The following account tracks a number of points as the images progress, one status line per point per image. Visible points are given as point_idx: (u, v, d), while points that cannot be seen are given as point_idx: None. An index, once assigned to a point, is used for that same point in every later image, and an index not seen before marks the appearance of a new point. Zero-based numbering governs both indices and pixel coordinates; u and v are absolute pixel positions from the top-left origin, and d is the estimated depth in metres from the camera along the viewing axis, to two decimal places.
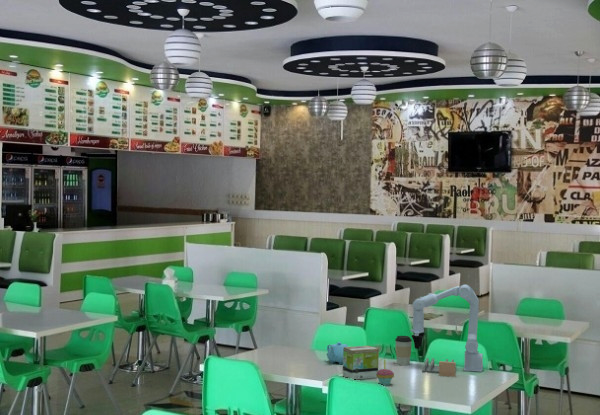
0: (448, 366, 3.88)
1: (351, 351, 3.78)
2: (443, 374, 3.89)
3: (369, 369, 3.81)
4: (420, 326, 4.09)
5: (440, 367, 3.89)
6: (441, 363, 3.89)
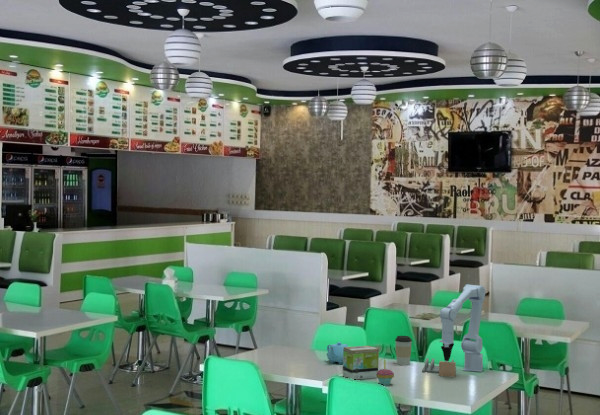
0: (448, 366, 3.88)
1: (351, 351, 3.78)
2: (443, 374, 3.89)
3: (369, 369, 3.81)
4: (450, 337, 3.87)
5: (440, 367, 3.89)
6: (441, 363, 3.89)
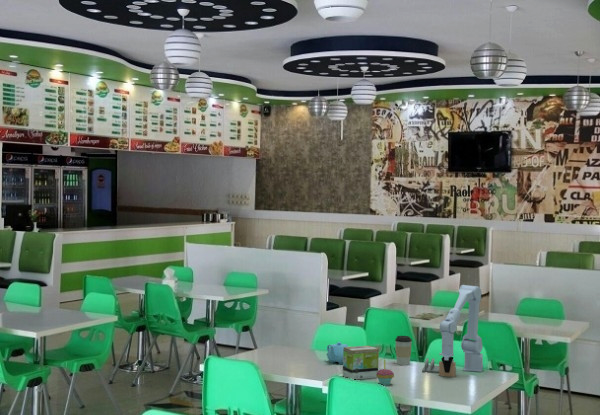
0: None
1: (351, 351, 3.78)
2: (443, 374, 3.89)
3: (369, 369, 3.81)
4: (450, 350, 3.87)
5: (440, 367, 3.89)
6: (441, 363, 3.89)
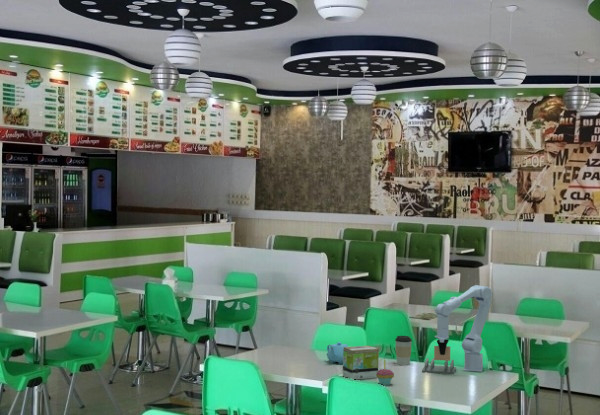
0: None
1: (351, 351, 3.78)
2: (438, 358, 3.96)
3: (369, 369, 3.81)
4: (445, 333, 3.94)
5: (435, 351, 3.97)
6: (436, 347, 3.97)
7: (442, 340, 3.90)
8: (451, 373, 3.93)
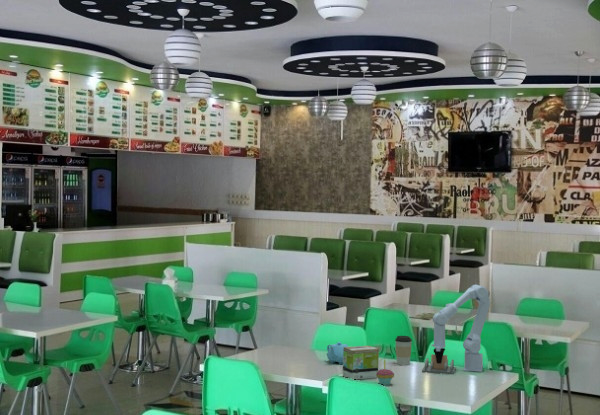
0: None
1: (351, 351, 3.78)
2: (435, 367, 4.01)
3: (369, 369, 3.81)
4: (442, 342, 3.99)
5: (432, 360, 4.02)
6: (433, 356, 4.02)
7: (438, 349, 3.95)
8: (451, 373, 3.93)
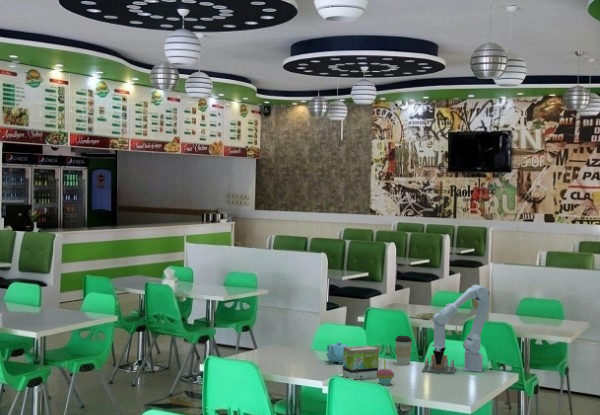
0: None
1: (351, 351, 3.78)
2: (435, 367, 4.01)
3: (369, 369, 3.81)
4: (442, 342, 3.99)
5: (432, 360, 4.02)
6: (433, 356, 4.02)
7: (438, 349, 3.95)
8: (451, 373, 3.93)
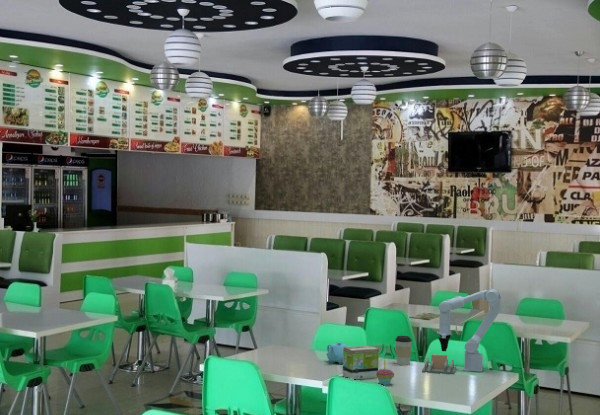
0: (440, 359, 4.01)
1: (351, 351, 3.78)
2: (435, 367, 4.01)
3: (369, 369, 3.81)
4: (447, 329, 4.06)
5: (432, 360, 4.02)
6: (433, 356, 4.02)
7: (444, 336, 4.02)
8: (451, 373, 3.93)
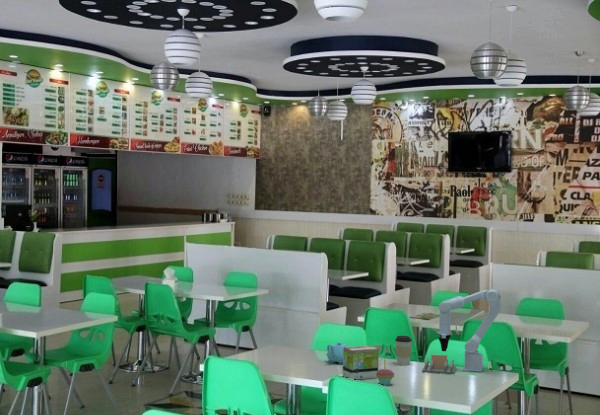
0: (440, 359, 4.01)
1: (351, 351, 3.78)
2: (435, 367, 4.01)
3: (369, 369, 3.81)
4: (447, 329, 4.06)
5: (432, 360, 4.02)
6: (433, 356, 4.02)
7: (444, 336, 4.02)
8: (451, 373, 3.93)
